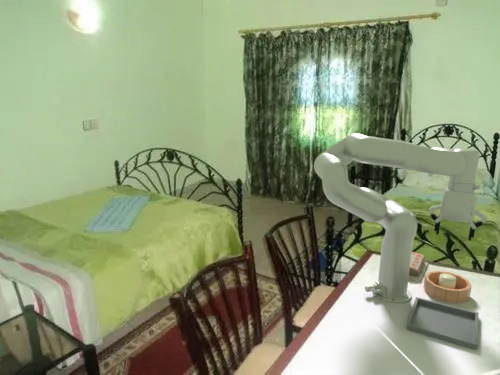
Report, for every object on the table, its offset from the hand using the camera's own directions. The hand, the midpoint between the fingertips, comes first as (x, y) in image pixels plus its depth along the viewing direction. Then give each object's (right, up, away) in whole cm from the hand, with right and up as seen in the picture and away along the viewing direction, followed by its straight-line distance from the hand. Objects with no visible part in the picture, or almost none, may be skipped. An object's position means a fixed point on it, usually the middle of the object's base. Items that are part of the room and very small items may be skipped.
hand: (453, 236), depth 129 cm
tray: (-10, -25, -13) cm, 30 cm away
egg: (0, -20, +5) cm, 21 cm away
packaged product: (-4, -17, +23) cm, 29 cm away
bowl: (0, -21, +5) cm, 21 cm away
